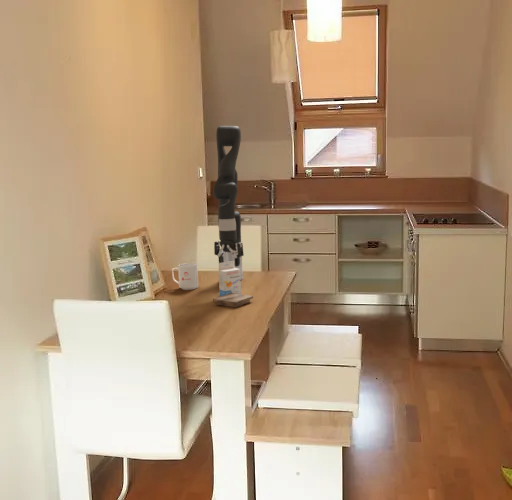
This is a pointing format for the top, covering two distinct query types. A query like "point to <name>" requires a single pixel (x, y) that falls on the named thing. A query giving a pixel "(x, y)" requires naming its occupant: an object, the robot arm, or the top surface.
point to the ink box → (229, 279)
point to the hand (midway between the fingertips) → (229, 265)
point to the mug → (187, 276)
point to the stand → (233, 300)
